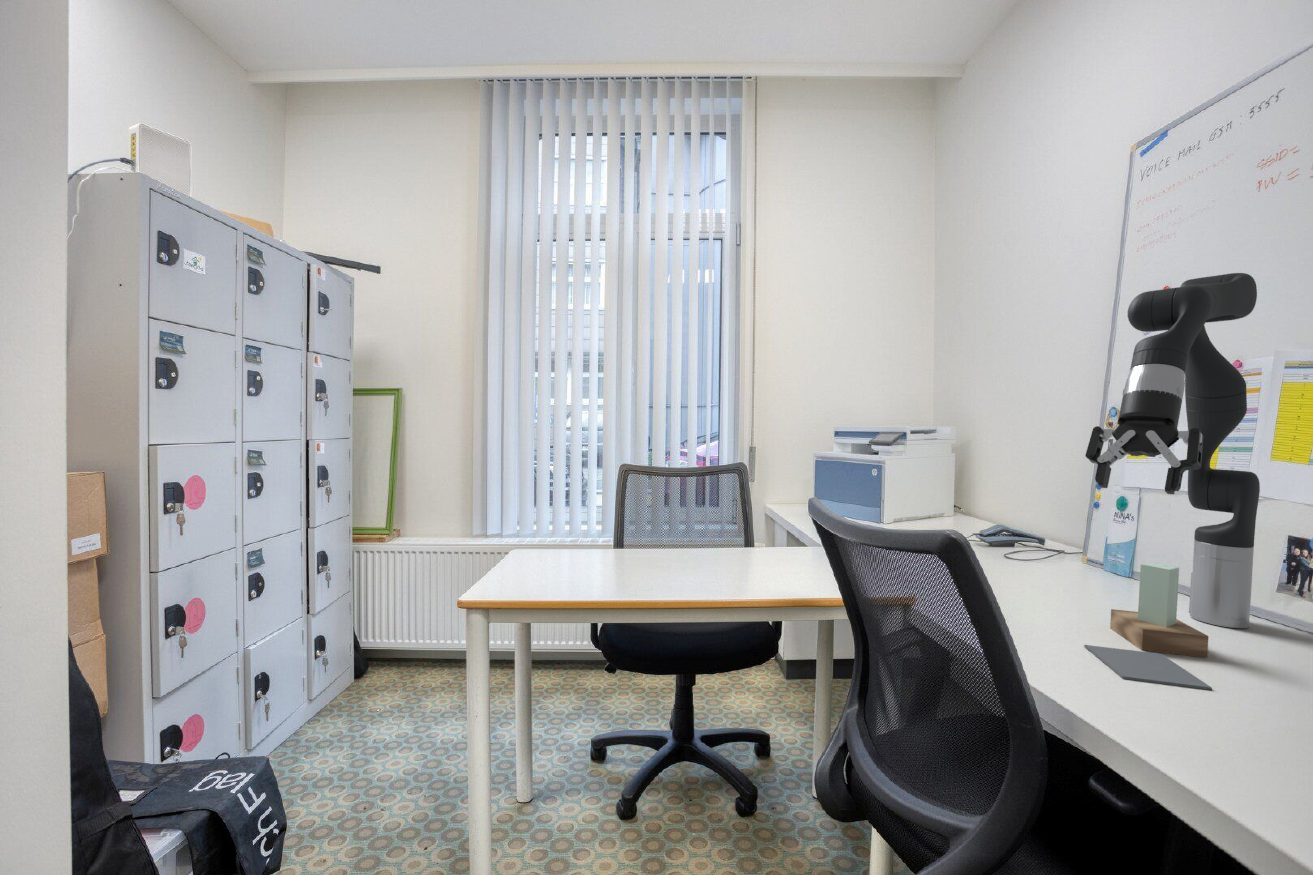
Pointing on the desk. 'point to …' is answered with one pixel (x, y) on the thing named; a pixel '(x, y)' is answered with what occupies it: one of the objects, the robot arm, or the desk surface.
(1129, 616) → the walnut block
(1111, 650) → the charcoal mat
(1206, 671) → the desk surface
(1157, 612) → the sage block
